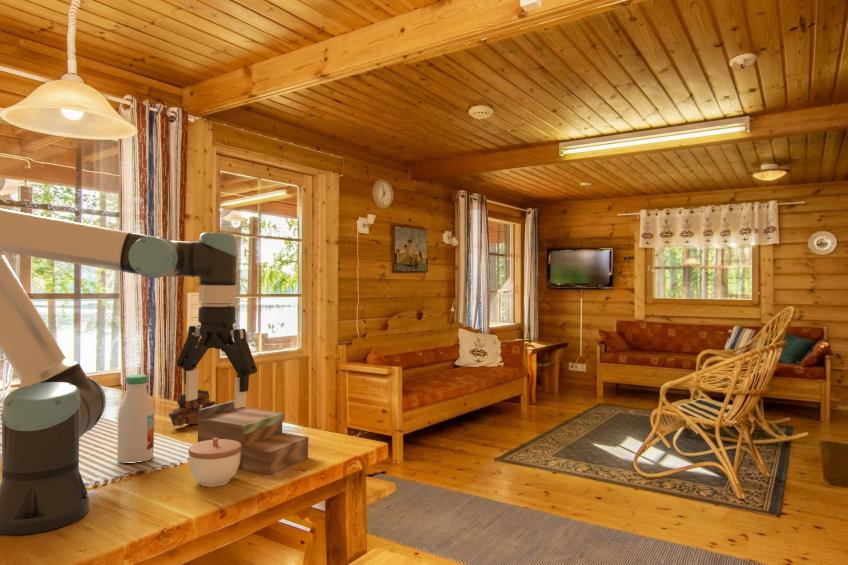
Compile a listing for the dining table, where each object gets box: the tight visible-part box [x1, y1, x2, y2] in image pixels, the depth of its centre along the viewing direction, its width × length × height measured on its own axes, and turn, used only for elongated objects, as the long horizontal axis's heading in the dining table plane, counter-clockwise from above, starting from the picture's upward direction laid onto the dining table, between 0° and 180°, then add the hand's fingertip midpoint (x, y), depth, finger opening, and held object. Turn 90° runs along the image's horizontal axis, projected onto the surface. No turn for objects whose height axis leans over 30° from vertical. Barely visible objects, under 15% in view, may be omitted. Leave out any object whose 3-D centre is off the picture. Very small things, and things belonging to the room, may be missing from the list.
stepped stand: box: [197, 399, 309, 475], centre depth 140 cm, size 14×22×12 cm, turn 65°
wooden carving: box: [168, 389, 216, 427], centre depth 170 cm, size 16×5×10 cm, turn 162°
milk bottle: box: [116, 374, 155, 462], centre depth 137 cm, size 8×8×20 cm
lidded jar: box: [187, 438, 241, 488], centre depth 124 cm, size 11×11×9 cm
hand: (215, 403), depth 125 cm, fingers open, 13 cm apart
